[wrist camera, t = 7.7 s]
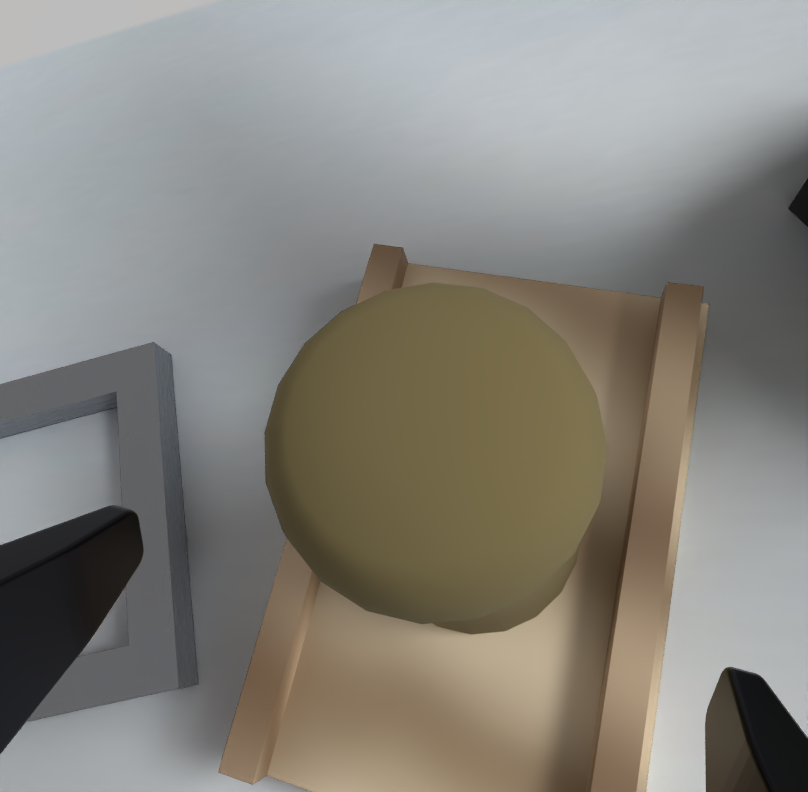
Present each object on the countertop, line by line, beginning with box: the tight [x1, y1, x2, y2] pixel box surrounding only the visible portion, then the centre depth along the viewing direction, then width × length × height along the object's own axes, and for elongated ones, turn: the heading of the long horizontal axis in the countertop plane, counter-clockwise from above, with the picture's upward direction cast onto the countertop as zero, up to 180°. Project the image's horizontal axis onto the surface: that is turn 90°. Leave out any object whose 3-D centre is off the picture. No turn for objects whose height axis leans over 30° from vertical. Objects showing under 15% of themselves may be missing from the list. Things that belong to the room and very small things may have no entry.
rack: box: [219, 244, 709, 792], centre depth 19 cm, size 16×11×2 cm
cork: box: [265, 282, 607, 635], centre depth 14 cm, size 6×6×11 cm
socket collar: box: [0, 342, 198, 722], centre depth 22 cm, size 11×11×1 cm
